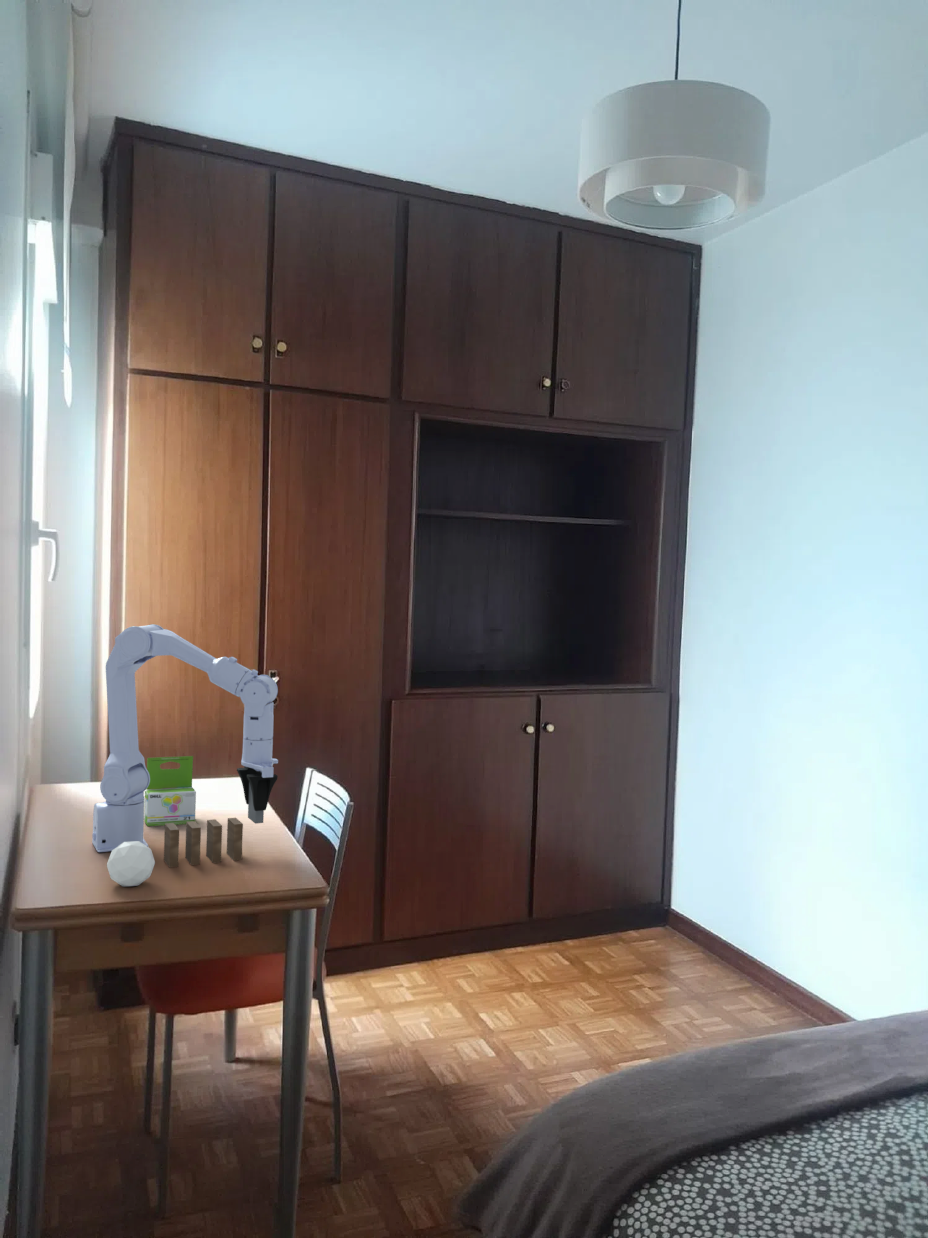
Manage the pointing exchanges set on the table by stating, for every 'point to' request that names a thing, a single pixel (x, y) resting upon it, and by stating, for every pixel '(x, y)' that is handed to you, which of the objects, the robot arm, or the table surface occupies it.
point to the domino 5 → (252, 814)
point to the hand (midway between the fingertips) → (255, 807)
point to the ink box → (169, 792)
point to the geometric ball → (130, 863)
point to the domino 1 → (171, 845)
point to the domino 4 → (234, 839)
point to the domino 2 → (193, 842)
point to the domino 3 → (214, 841)
